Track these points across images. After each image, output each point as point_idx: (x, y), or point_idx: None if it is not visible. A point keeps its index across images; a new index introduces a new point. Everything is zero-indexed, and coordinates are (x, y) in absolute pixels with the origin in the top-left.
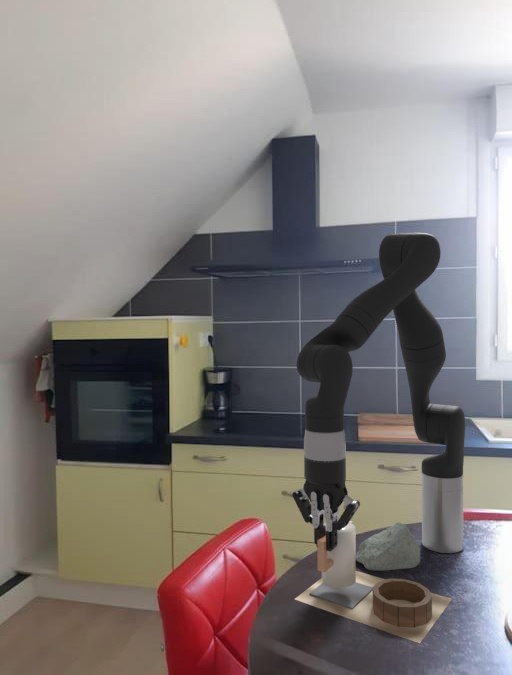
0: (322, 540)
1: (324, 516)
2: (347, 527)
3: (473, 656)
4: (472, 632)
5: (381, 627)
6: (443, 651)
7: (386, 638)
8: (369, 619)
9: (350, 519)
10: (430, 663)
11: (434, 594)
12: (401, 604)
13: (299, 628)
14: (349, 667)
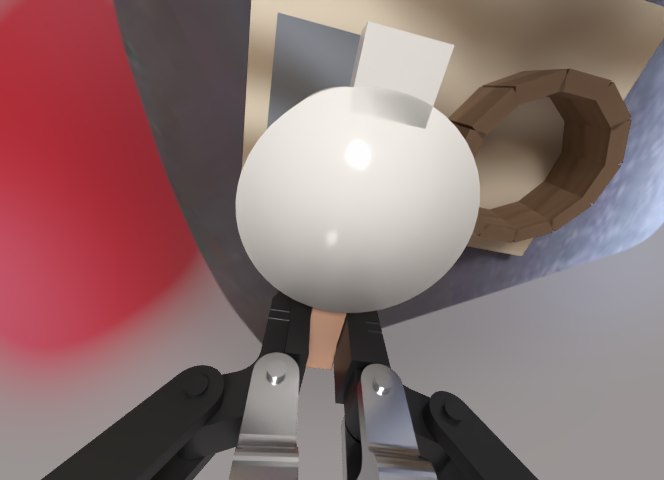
0: (318, 360)
1: (296, 414)
2: (421, 206)
3: (608, 229)
4: (647, 147)
5: None
6: (556, 235)
7: None
8: None
9: (514, 460)
10: (524, 271)
11: (630, 2)
12: (523, 231)
13: None
14: (399, 319)
